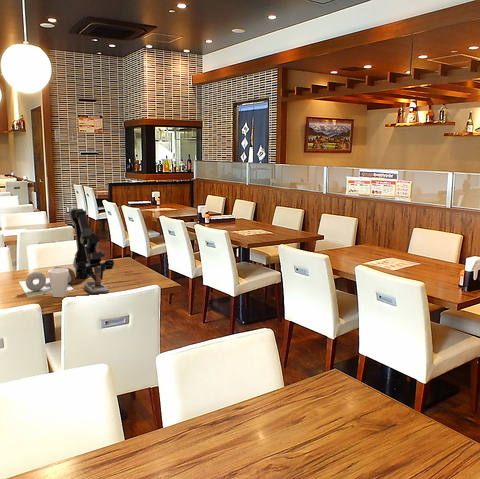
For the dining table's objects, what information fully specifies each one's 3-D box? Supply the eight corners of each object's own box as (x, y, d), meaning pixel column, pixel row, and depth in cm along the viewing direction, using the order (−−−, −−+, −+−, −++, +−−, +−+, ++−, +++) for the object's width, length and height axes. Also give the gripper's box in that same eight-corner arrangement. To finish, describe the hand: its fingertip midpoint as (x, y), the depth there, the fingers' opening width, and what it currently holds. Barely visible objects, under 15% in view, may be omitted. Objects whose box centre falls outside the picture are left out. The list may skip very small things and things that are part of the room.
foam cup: (71, 293, 244) (70, 268, 241) (67, 298, 235) (66, 272, 232) (51, 293, 242) (50, 268, 240) (47, 299, 233) (45, 272, 231)
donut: (27, 293, 242) (26, 274, 240) (25, 291, 244) (23, 272, 243) (47, 289, 249) (46, 270, 247) (45, 288, 251) (43, 269, 249)
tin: (76, 283, 261) (75, 268, 260) (72, 285, 258) (71, 269, 257) (53, 280, 266) (52, 266, 265) (49, 282, 263) (48, 267, 262)
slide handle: (91, 288, 247) (91, 266, 245) (101, 287, 250) (100, 265, 248) (94, 290, 243) (93, 268, 241) (104, 289, 245) (103, 267, 243)
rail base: (83, 287, 253) (82, 282, 253) (101, 285, 258) (101, 280, 258) (90, 294, 241) (90, 289, 241) (109, 292, 246) (109, 286, 246)
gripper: (75, 247, 241) (81, 273, 234) (112, 244, 251) (119, 269, 243) (72, 259, 249) (78, 285, 242) (108, 256, 259) (115, 280, 251)
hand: (98, 279), depth 244 cm, fingers closed on slide handle, 3 cm apart
